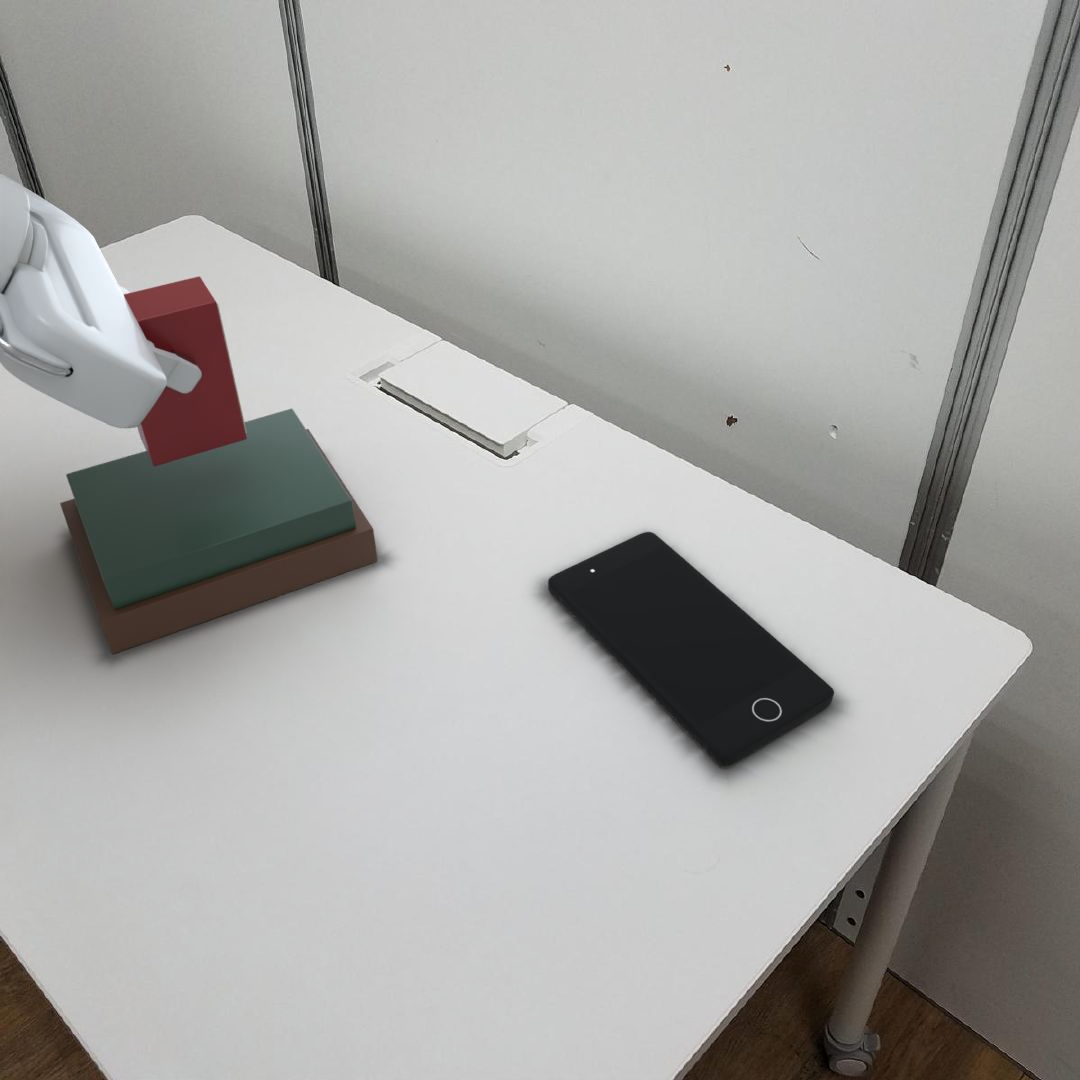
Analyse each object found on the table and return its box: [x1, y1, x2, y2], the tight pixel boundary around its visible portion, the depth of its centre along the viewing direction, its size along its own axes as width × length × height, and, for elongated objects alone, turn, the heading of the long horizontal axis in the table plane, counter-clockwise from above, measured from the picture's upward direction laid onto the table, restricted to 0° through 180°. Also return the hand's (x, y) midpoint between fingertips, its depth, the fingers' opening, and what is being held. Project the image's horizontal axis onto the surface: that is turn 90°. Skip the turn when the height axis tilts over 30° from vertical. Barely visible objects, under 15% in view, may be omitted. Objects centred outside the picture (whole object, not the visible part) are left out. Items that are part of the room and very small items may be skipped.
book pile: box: [60, 408, 379, 655], centre depth 76 cm, size 18×13×6 cm
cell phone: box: [547, 531, 835, 767], centre depth 70 cm, size 9×18×1 cm, turn 34°
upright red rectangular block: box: [123, 275, 247, 466], centre depth 68 cm, size 6×4×10 cm, turn 118°
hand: (182, 358), depth 68 cm, fingers closed on upright red rectangular block, 3 cm apart
